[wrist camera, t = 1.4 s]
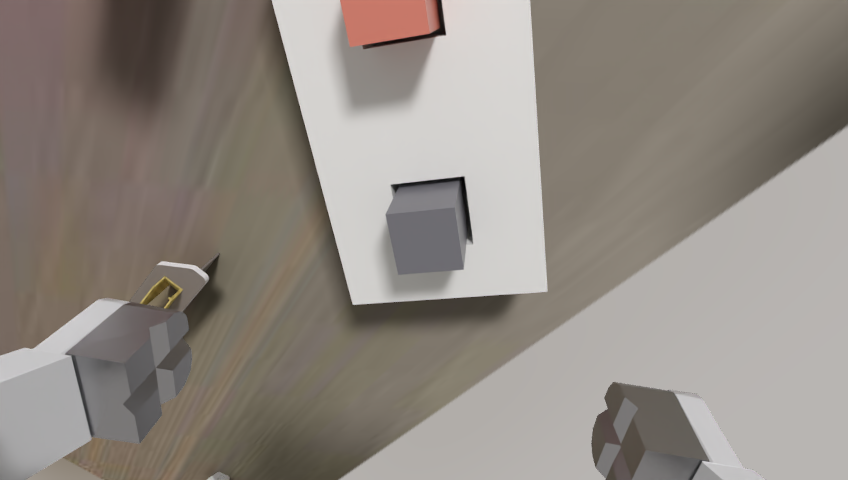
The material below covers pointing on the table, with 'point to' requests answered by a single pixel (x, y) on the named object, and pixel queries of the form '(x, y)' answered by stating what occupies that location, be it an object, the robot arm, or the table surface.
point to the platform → (173, 283)
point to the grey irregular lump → (219, 477)
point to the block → (425, 140)
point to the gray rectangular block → (428, 226)
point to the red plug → (388, 19)
